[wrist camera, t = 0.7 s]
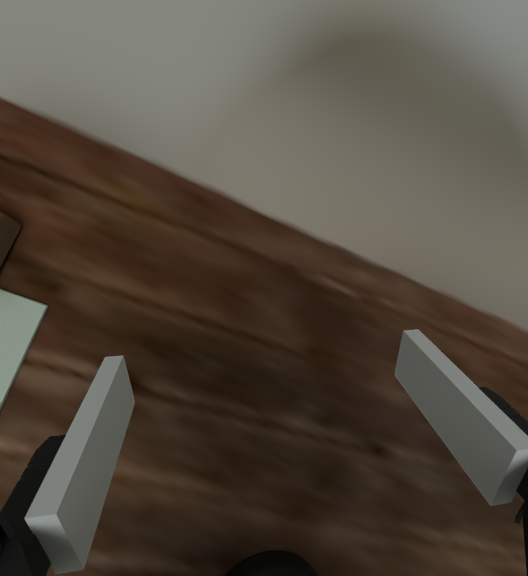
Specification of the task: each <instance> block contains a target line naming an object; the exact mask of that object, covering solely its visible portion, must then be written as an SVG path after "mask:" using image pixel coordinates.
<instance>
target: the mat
mask: <svg viewBox="0 0 528 576" xmlns="http://www.w3.org/2000/svg"><path fill="white" fill-rule="evenodd" d="M48 306H49V305H46V304H43V303H40V302H37V301H34V300H32V299H29V298H26V297H23V296H20V295H17V294H14V293H12V292H9V291H6V290H3V289H0V410H1V408H2V406H3V403H4V401H5V399H6V397H7V395H8V393H9V391H10V388H11V386H12V384H13V382H14V380H15V378H16V375H17V373H18V371H19V369H20V367H21V365H22V362H23V360H24V358H25V356H26V354H27V352H28V350H29V347H30V345H31V343H32V341H33V339H34V337H35V334H36V332H37V330H38V328H39V326H40V324H41V322H42V319H43V317H44V315H45V313H46V311H47V309H48Z"/></svg>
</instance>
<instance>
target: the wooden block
mask: <svg viewBox="0 0 528 576" xmlns="http://www.w3.org/2000/svg"><path fill="white" fill-rule="evenodd" d="M20 228H21V224H20V223H19V222H17V221H15V220H14V219H12V218H11V217H9V216H7V215H6V214H4V213H2V212H1V211H0V267H1V265H2V263H3V261H4V259H5V257H6V255H7V254H8V252H9V250H10V248H11V246H12V244H13V242H14V240H15V238H16V236H17V234H18V232H19V230H20Z"/></svg>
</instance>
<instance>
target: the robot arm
mask: <svg viewBox="0 0 528 576" xmlns="http://www.w3.org/2000/svg"><path fill="white" fill-rule="evenodd" d="M394 375H395V377H396V378H397V379H398V381H399V382H400V383H401V385H402V386H403V388H404V389H405V390H406V392H407V393H408V394H409V396H410V397H411V398H412V400H413V401H414V403H415V404H416V405H417V407H418V408H419V409H420V411H421V412H422V413H423V415H424V416H425V418H426V419H427V420H428V422H429V423H430V424H431V426H432V427H433V428H434V430H435V431H436V433H437V434H438V435H439V437H440V438H441V439H442V441H443V442H444V443H445V445H446V446H447V447H448V449H449V450H450V452H451V453H452V454H453V456H454V457H455V458H456V460H457V461H458V462H459V464H460V465H461V467H462V468H463V469H464V471H465V472H466V473H467V475H468V476H469V477H470V479H471V480H472V482H473V483H474V484H475V486H476V487H477V488H478V490H479V491H480V492H481V494H482V495H483V497H484V498H485V499H486V501H487V502H488V503H489V505H490V506H493V505H499V504H505V503H511V501H512V499H513V497H514V495H515V494H516V492H518V493H519V494H520V496H521V497H522V498H523V499H524V500H525V501H524V503H523V505H522V506H521V508H520V510H519V512H518V514H517V516H516V519H515V522H516V523H518V524H519V522H520V521H521V519H522V518H523V527H524V541H525V555H526V569H527V576H528V421H526V420H525V419H524V418H523V417H521V416H520V414H519V413H518V412H517V411H516V410H515V409H514V408H511V406H510V405H509V404H508V403H507V402H506V401H505V400H504V399H503V398H502V397H501V396H500V395H498V394H496V393H494V392H493V391H491V390H489V389H488V388H486V387H479V388H478V387H477V386H476V385H475V384H474V383H473V382H472V381H471V380H470V379H469V378H468V377H467V376H466V375H465V374H464V373H462V372H461V371H460V370H459V369H458V368H457V367H456V366H455V365H454V364H453V363H452V362H451V361H450V360H449V359H448V358H447V357H446V356H445V355H444V354H443V353H442V352H441V351H440V350H439V349H438V348H437V347H436V346H435V345H434V344H433V343H432V342H431V341H430V340H429V339H428V338H427V337H425V336H424V335H423V334H422V333H421V332H420V331H419V330H418V329H417V330H406V331H403V335H402V340H401V345H400V350H399V355H398V360H397V365H396V369H395V374H394ZM134 404H135V400H134V396H133V392H132V388H131V384H130V380H129V376H128V372H127V368H126V364H125V360H124V356H112V357H105V358H104V360H103V362H102V364H101V366H100V368H99V370H98V372H97V374H96V376H95V378H94V380H93V382H92V384H91V386H90V388H89V390H88V392H87V394H86V396H85V398H84V400H83V402H82V404H81V406H80V408H79V410H78V412H77V414H76V416H75V418H74V420H73V422H72V424H71V426H70V428H69V430H68V432H67V434H66V435H60V436H51V437H49V438H48V439H47V440H46V441H45V442H44V443H43V444H42V445H41V446H40V447H39V448H38V449H37V450H36V451H35V453H34V455H33V457H32V458H31V460H30V462H29V464H28V467H27V468H26V469H25V471H24V472H23V474H22V476H21V479H20V481H18V483H17V485H16V486H15V488H14V490H13V492H12V493H11V495H10V497H9V499H8V500H7V502H6V504H5V506H4V507H3V509H2V511H1V512H0V576H46V574H47V571H48V569H49V566H50V565H51V566H52V568H53V570H54V572H55V573H56V574H61V573H67V572H74V571H80V570H84V567H85V564H86V561H87V557H88V554H89V551H90V548H91V544H92V541H93V538H94V534H95V531H96V528H97V525H98V521H99V518H100V515H101V512H102V508H103V505H104V502H105V499H106V495H107V492H108V489H109V485H110V482H111V479H112V476H113V472H114V469H115V466H116V463H117V459H118V456H119V453H120V450H121V446H122V443H123V440H124V436H125V433H126V430H127V427H128V423H129V420H130V417H131V414H132V410H133V407H134ZM226 576H316V574H315V572H314V571H313V569H312V568H311V567H310V565H309V564H308V563H306V562H305V561H304V560H303V559H301V558H299V557H298V556H296V555H293V554H290V553H286V552H267V553H262V554H259V555H256V556H253V557H251V558H249V559H247V560H245V561H244V562H242V563H240V564H239V565H238V566H236V567H235V568H234V569H232V570H231V571H230V572H229V573H228V574H227V575H226Z"/></svg>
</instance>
